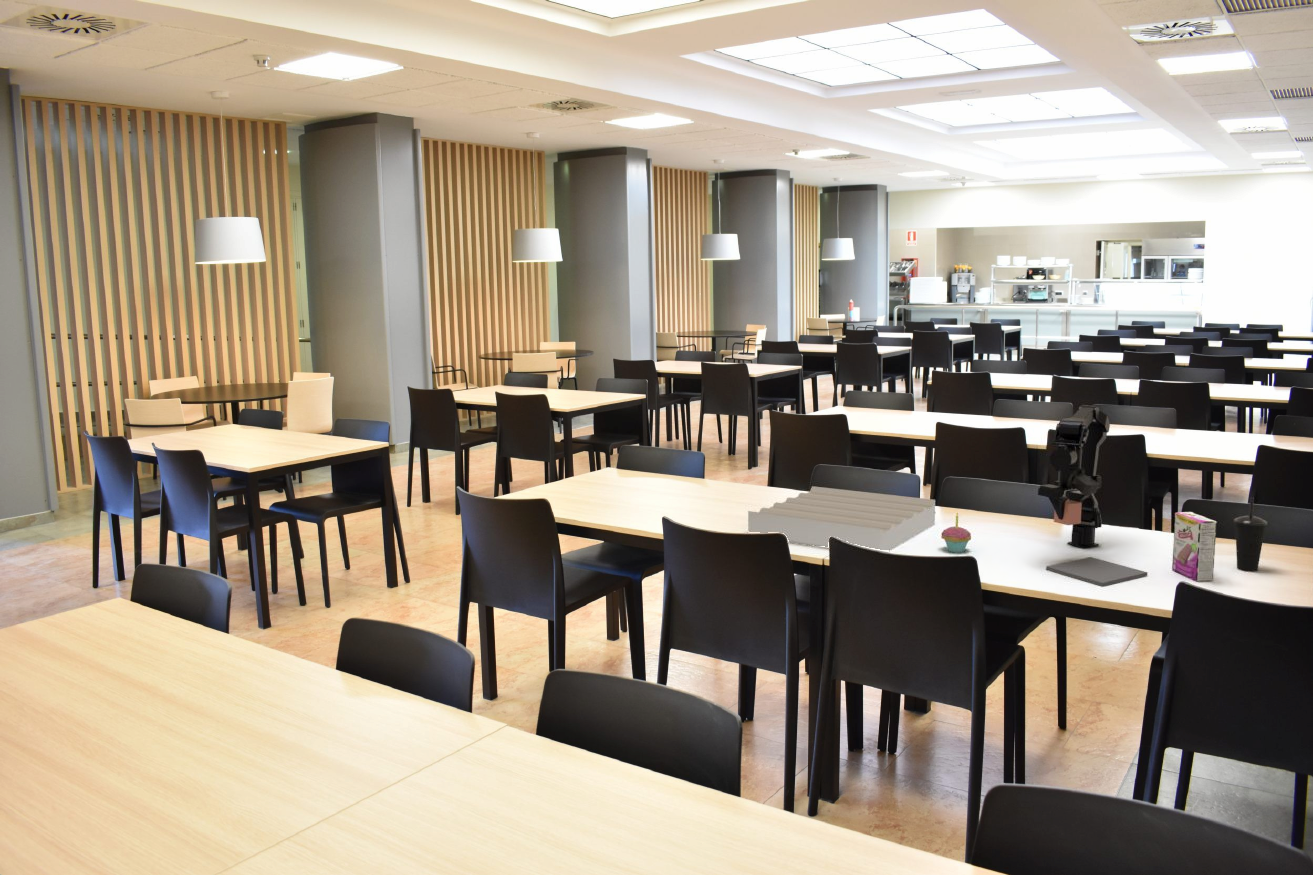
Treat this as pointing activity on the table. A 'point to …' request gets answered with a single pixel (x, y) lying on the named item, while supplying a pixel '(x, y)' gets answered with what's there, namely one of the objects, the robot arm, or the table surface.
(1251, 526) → the drinking cup
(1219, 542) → the table surface
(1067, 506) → the red block
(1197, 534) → the candy bar box
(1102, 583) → the mat
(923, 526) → the tray
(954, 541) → the cupcake
